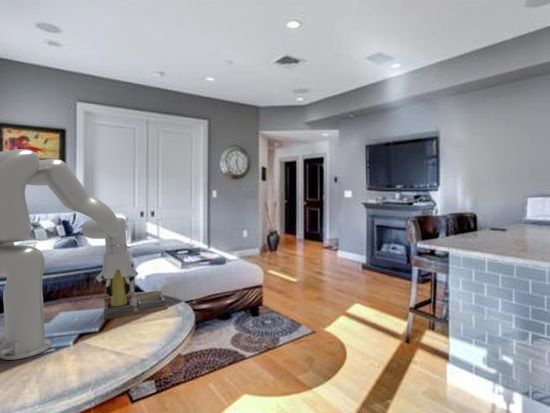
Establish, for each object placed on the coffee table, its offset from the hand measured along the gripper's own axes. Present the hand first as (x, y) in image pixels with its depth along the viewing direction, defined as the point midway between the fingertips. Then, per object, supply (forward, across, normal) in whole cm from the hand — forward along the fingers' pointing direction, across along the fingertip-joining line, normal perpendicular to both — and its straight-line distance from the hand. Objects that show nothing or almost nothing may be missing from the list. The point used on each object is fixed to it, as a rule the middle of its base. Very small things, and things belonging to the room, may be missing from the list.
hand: (118, 294), depth 138 cm
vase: (+4, 0, 0) cm, 4 cm away
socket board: (+7, -6, 0) cm, 9 cm away
